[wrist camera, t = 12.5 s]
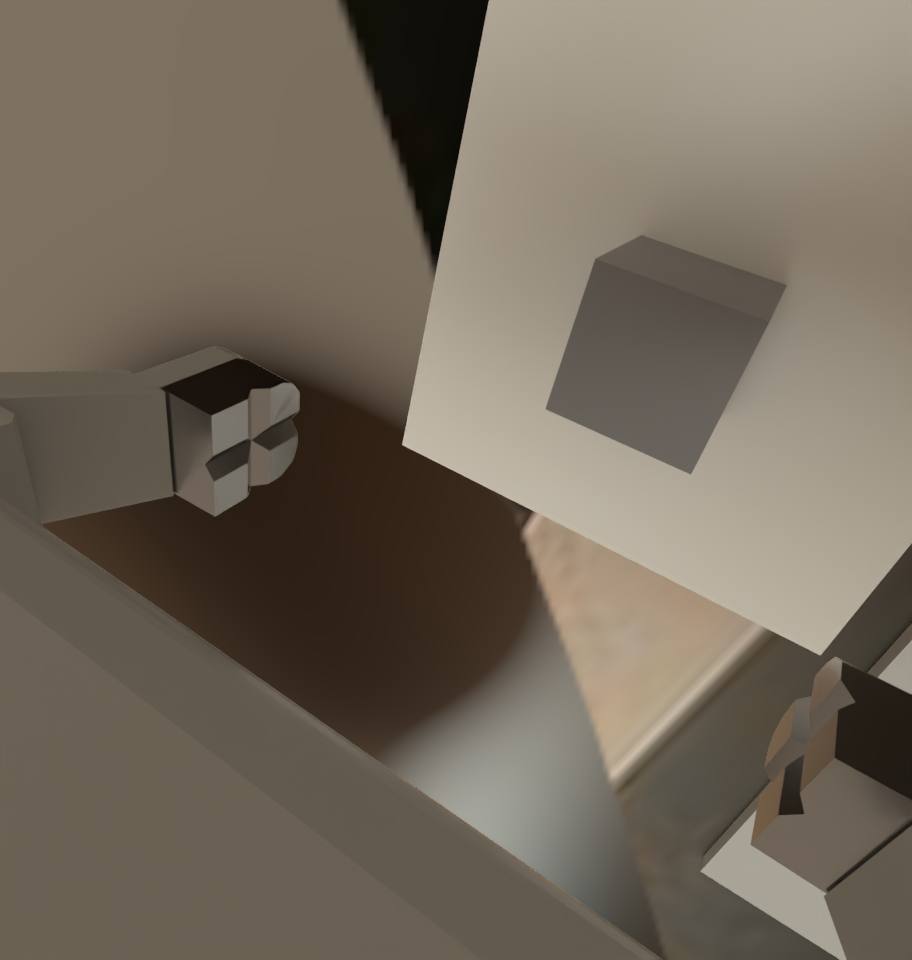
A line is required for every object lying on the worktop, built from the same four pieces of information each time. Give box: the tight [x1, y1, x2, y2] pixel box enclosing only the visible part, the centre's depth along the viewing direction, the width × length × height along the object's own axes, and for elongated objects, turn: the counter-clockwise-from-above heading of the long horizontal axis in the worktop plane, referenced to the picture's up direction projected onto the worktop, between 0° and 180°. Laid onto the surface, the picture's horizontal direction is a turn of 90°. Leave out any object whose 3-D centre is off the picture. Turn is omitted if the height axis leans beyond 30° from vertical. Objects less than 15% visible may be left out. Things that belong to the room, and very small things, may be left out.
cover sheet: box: [403, 0, 912, 655], centre depth 17 cm, size 16×16×5 cm
